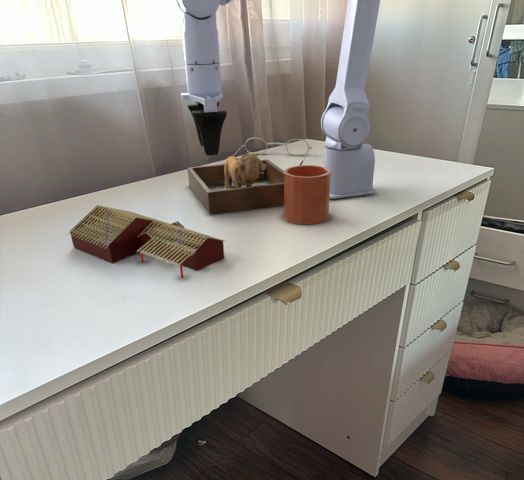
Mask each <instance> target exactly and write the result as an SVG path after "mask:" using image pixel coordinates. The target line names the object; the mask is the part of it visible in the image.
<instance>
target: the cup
mask: <svg viewBox="0 0 524 480" xmlns="http://www.w3.org/2000/svg"><path fill="white" fill-rule="evenodd" d="M299 165H300V164H299ZM299 165H294V166H290V167H287V168H285V169H283V171H284V205H283V217H284V220H285V221H287V222H289V223H291V224H294V225H304V226H305V225H306V226H307V225H318V224H322V223H324V222H326V221H327V220H328V219H329V213H330V212H329V209H330V198H329V193H330V174H331V172H330V170H329V169H328V168H326V167H324V166H320V165H314V164H302V165H300V166H299Z"/></svg>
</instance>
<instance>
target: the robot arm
mask: <svg viewBox="0 0 524 480" xmlns="http://www.w3.org/2000/svg"><path fill="white" fill-rule="evenodd" d="M175 1H176V5H177V8H178V9H179V11H180V12H181V25H182V31H181V34H182V36H181V37H182V45H183V55H184V57H183V59H184V64H185V65H184V66H185V68H184V69H185V78H186V88H187V90H186V91H187V92H185V93H183V92H182V93H180V97H181V100H188V101H192V103H187V104H186V106H187V109H188V110H189V112H190V115H191V117H192V119H193V122H194V125H195V130H196V134H197V139H198V141H199V144H200V146H201V147H203V150H204V153H205V156H207V157H208V156H218V155H219V152H220V146H221V145H220V144H221V136H222V130H223V126H224V122H225V120H226V118H227V115H228V112H227V111H226V110H218V108H219V106H220V102H219V101H220V100H222V99H223V98H224V92H223V91H222V78H221V77H222V76H221V75H222V74H221V63H220V61H221V60H220V59H221V58H220V48H219V47H220V45H219V43H220V42H219V30H218V28H217V27H218V25H217V11H218V9H219V7H220V6H223V7H224V6H226V5H228V4H229V3H231V2H233V1H234V0H175ZM380 4H381V0H347V6H346V11H345V19H344V24H343V25H344V26H343V33H342V39H341V40H342V41H341V47H340V54H339V61H338V67H337V74H336V79H335V80H336V81H335V87H334V89H333V90H332V92H331V93H330V94H329V97H328V102H327V106H326V108H325V110H324V112H323V113H322V115H321V118H320V128H321V131H322V133H323V134H324V136H325V140H324V147H323V151H324V153H323V167H326V168H328V169H329V170H330V172H331V174H330V193H329V200H337V199H343V198H344V199H345V198H352V197H360V196H367V195H373V194H374V193H375V191H374V190H373V184H374V177H375V176H374V174H375V164H376V156H375V151H374V148H373V147H372V145H371V144H369V143H365V142H366V140H367V139H368V137H369V135H370V131H371V122H370V118H369V112H370V111H369V110H370V103H369V99H368V97H367V93H366V86H367V80H368V73H369V69H370V62H371V57H372V51H373V45H374V40H375V33H376V28H377V21H378V16H379V11H380ZM193 102H194V103H193Z"/></svg>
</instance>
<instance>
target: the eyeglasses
mask: <svg viewBox="0 0 524 480" xmlns="http://www.w3.org/2000/svg"><path fill="white" fill-rule="evenodd" d="M252 139H253V137H250V138H248V139H246V141H245V143H244V144H242V145H241V147H240V148H238V150H236V152H235V153H234V154H233V155H232V156H233V157H235V155H236V154H237V153H238V152H239V151H240V150H241V149H242V148H245V150H246V153H250V152H251V151H249V150H248V149H247V142H248V141H250V140H252ZM256 139H258V140H261V141H263V142H264V143H265V150H264V151H262V152H260V153H258V155H262V154H264V153H265V152H266V151H267V150H268V146H275V145H276V146H285V150H286V152H287V153H288V154H289V155H292V156H295V157H300V156H304V155H305V156H304V157H303V159H302V161H301V162H300V164H299V165H298V166H300V165H303V163H304V160H305V159H306V157H307V156H308V154H309V152H310V151H311V150H312V148H313V147H312V146H310V145H309V143H308V142H307V141H306V140H304V139H302V138H292V139H290V140H288V141H287V142H286V143H285V142H276V141H275V142H267V141H266V140H265V139H263V138H261V137H255V140H256ZM297 140H300V141H303V142H305V143H306V145H307V151H306V152H305V153H302V154H293V153H291V152H290V151H289V150H288V148H287V147H288V143H290V141H297Z"/></svg>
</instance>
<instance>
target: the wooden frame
mask: <svg viewBox="0 0 524 480" xmlns="http://www.w3.org/2000/svg"><path fill="white" fill-rule="evenodd" d="M260 160H261V161H262V162H263V163H265V164H266V168H265V170H264V173H263V174H260V173H259V176H258V178H257V179H256V180H255V181H256V182H257V181H265V180H266V181H267V182H268V183H267V184H260V185H251V186H250V187H246V186H241V188H236V187H233V188H229V189H225V188H223V189H216V190H211V189H210V188H209V187H211V186H219V185H225V183H224V184H222V183H221V182H222V181H223V180H225V174H224V165H225V163H219V164H218V163H217V164H210V165H200V166H190V167H187V179H188V187H189V188H190V190H191V191H192V192H193V194H194V195H195V196H196V198H197V199H198V201H199V202H200V203H201V205H202V206H203V207H204V209H205V210H206V212H207V213H208V214H209V215H215V214H223V213H232V212H240V211H248V210H256V209H262V208H263V209H264V208H270V207H271V208H272V207H279V206H284V169H282V168H280V166H278V165H276V164H275V163H274V162H272V161H271V160H269V159H260ZM255 181H254V182H255ZM228 182H229V185H230V184H232V178H231V175H230V176H229V180H228Z"/></svg>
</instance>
